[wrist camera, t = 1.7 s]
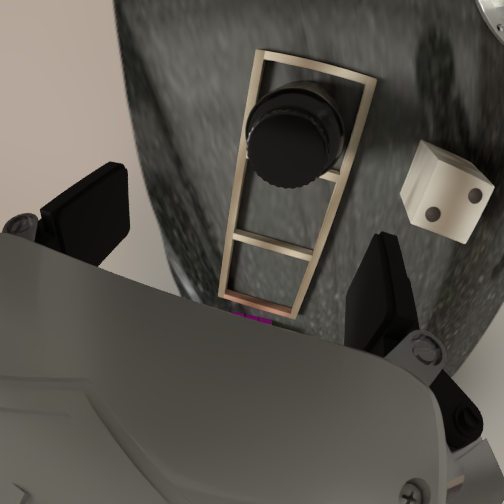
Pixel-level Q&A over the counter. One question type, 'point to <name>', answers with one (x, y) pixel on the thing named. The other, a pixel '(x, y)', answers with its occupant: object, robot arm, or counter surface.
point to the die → (444, 192)
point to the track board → (330, 175)
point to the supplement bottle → (294, 134)
